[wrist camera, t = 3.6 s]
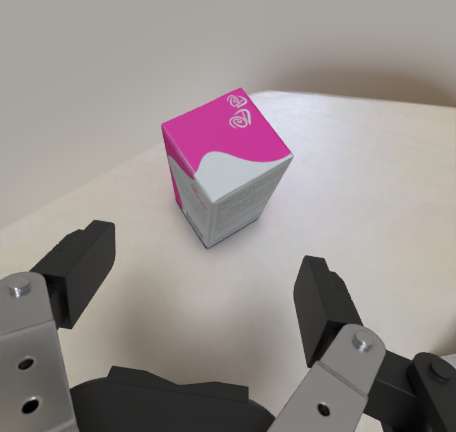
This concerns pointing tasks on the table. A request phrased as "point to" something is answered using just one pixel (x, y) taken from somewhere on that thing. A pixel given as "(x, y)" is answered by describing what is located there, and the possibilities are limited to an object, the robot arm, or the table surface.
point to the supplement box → (224, 164)
